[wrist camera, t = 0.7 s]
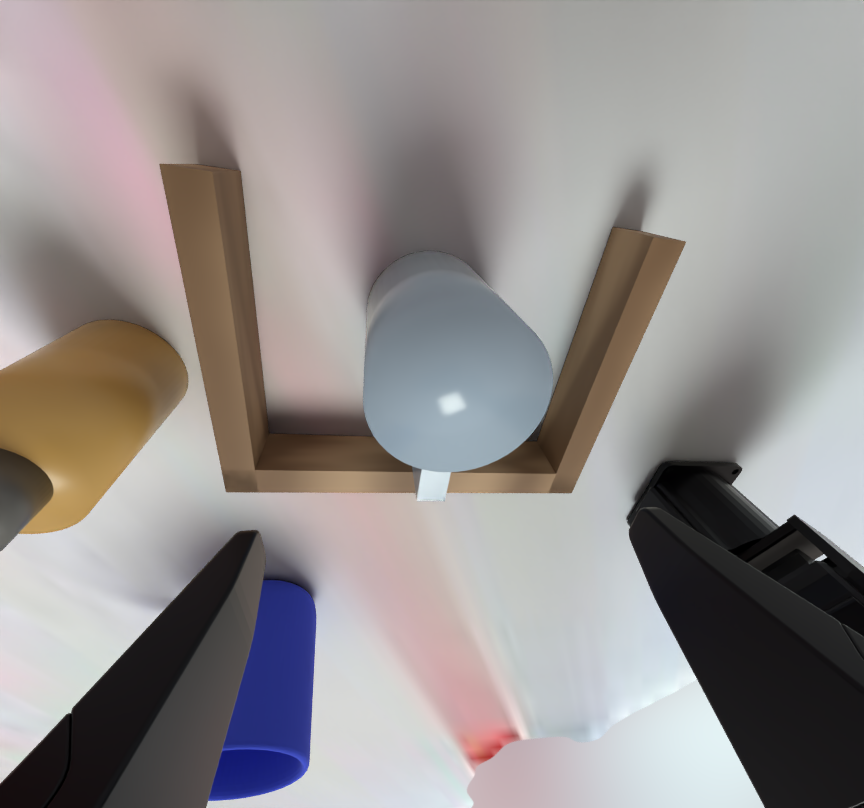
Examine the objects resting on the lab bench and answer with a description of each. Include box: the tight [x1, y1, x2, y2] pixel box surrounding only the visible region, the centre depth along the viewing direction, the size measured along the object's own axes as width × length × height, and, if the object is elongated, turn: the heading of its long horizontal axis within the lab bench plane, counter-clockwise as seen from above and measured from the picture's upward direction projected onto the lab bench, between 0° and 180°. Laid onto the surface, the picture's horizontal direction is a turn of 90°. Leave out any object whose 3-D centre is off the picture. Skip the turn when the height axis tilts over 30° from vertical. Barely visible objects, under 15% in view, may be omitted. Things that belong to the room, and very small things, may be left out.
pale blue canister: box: [363, 251, 553, 501], centre depth 16 cm, size 6×9×8 cm
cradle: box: [159, 164, 686, 493], centre depth 18 cm, size 19×14×3 cm
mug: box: [208, 580, 316, 801], centre depth 25 cm, size 8×12×10 cm
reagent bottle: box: [0, 320, 188, 551], centre depth 14 cm, size 5×5×9 cm
